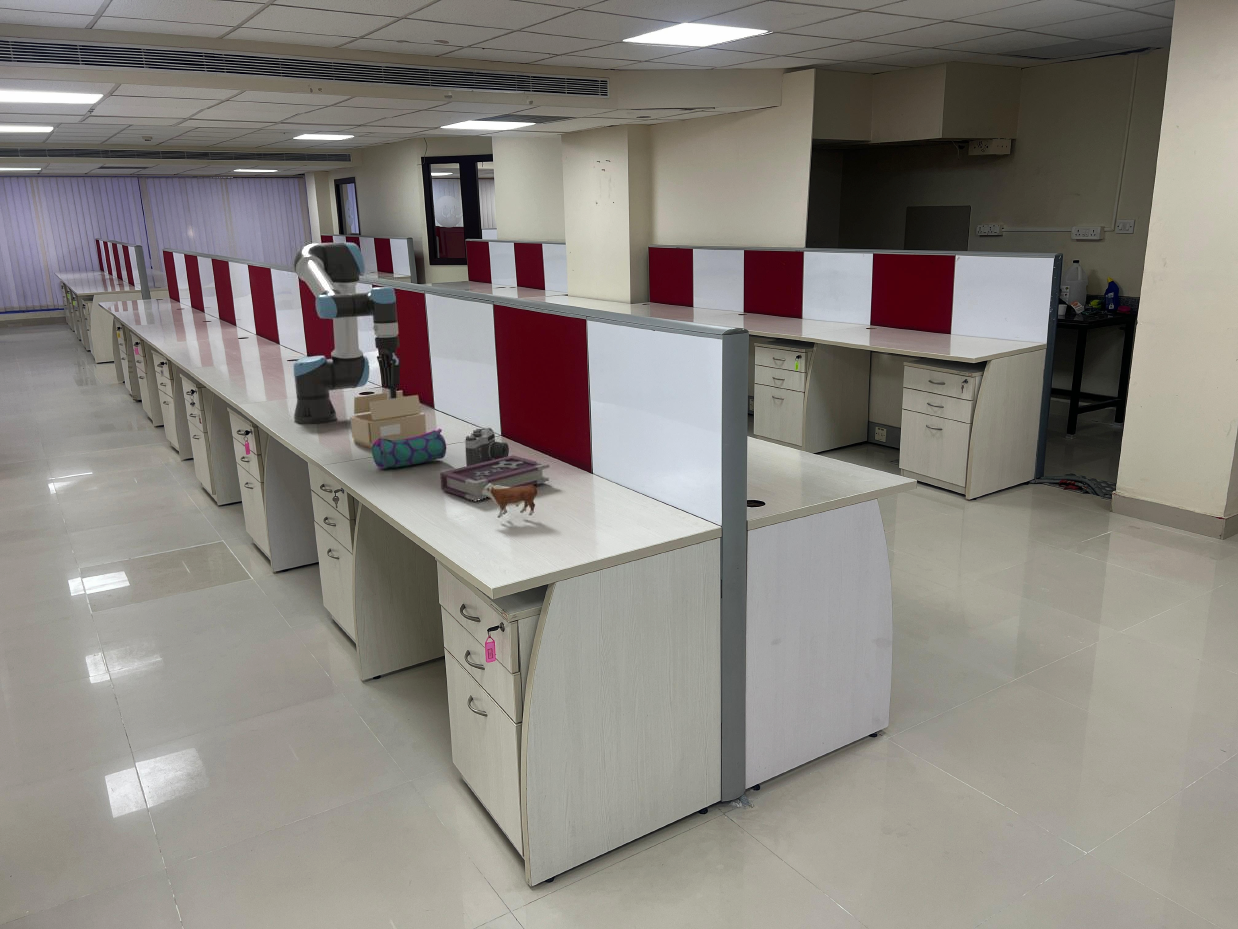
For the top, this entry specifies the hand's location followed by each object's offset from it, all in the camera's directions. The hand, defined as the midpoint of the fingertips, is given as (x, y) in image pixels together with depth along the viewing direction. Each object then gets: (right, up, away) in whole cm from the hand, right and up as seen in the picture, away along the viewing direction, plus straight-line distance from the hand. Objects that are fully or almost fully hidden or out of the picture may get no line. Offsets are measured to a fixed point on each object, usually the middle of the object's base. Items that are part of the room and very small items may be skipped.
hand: (392, 407), depth 292 cm
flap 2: (+2, -3, -1) cm, 4 cm away
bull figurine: (+48, -31, -74) cm, 93 cm away
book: (+41, -25, -47) cm, 67 cm away
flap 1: (-7, 0, +9) cm, 12 cm away
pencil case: (+11, -19, -23) cm, 32 cm away
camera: (+35, -18, -23) cm, 46 cm away
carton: (-3, -11, +6) cm, 13 cm away
